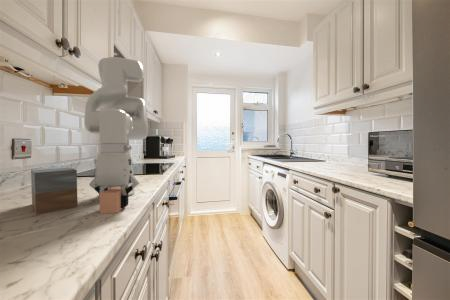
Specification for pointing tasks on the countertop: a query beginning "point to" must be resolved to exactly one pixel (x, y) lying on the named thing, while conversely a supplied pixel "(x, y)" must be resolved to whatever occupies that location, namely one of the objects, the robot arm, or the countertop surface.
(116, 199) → the terracotta brick
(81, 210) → the countertop surface
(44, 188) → the shiny metal block
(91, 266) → the countertop surface
